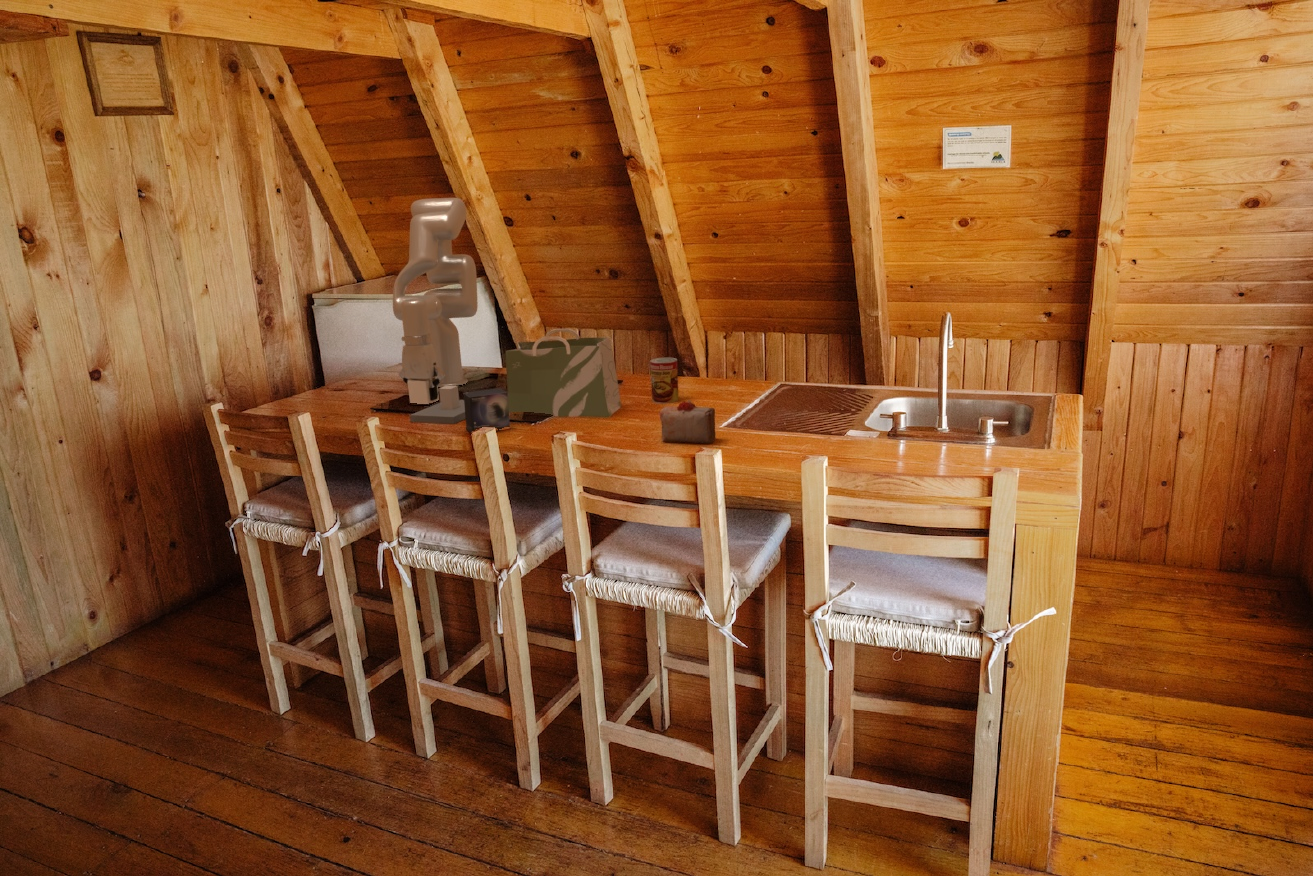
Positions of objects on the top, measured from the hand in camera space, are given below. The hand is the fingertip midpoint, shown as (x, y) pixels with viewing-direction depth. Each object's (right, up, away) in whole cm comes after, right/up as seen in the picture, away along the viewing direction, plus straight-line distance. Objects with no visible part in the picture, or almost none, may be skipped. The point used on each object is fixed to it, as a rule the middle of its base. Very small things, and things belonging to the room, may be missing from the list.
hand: (424, 398), depth 289 cm
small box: (+26, -10, -34) cm, 44 cm away
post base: (+11, -5, -15) cm, 20 cm away
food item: (+78, -13, -53) cm, 96 cm away
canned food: (+73, -1, -9) cm, 74 cm away
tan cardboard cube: (0, -1, 0) cm, 1 cm away
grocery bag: (+44, -4, -17) cm, 47 cm away
